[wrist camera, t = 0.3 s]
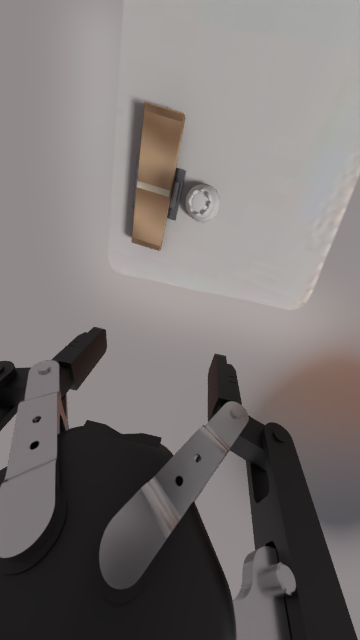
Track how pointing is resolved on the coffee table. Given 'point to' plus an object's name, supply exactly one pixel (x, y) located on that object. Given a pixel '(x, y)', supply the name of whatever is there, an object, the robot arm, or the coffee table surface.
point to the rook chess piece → (202, 203)
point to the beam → (156, 173)
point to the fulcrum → (174, 195)
